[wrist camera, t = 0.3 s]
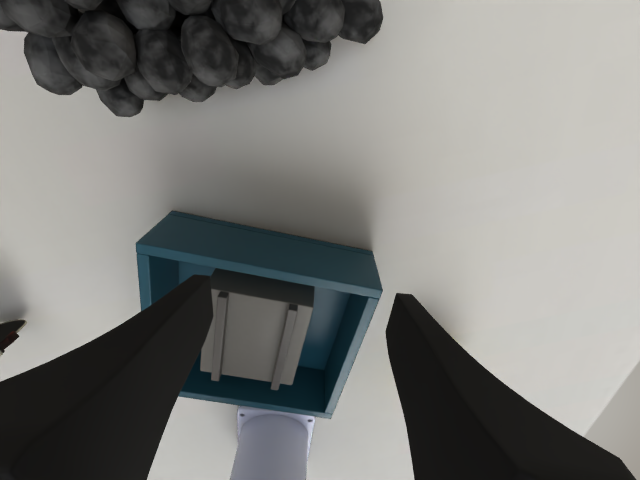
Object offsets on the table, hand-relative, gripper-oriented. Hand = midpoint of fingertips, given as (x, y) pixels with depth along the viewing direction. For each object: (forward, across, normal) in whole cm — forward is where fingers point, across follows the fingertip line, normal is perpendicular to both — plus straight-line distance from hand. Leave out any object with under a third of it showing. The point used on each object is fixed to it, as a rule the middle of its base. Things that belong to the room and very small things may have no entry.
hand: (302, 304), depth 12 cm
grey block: (+9, +3, +9) cm, 13 cm away
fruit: (+10, +5, -10) cm, 15 cm away
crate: (+10, +3, +9) cm, 14 cm away
